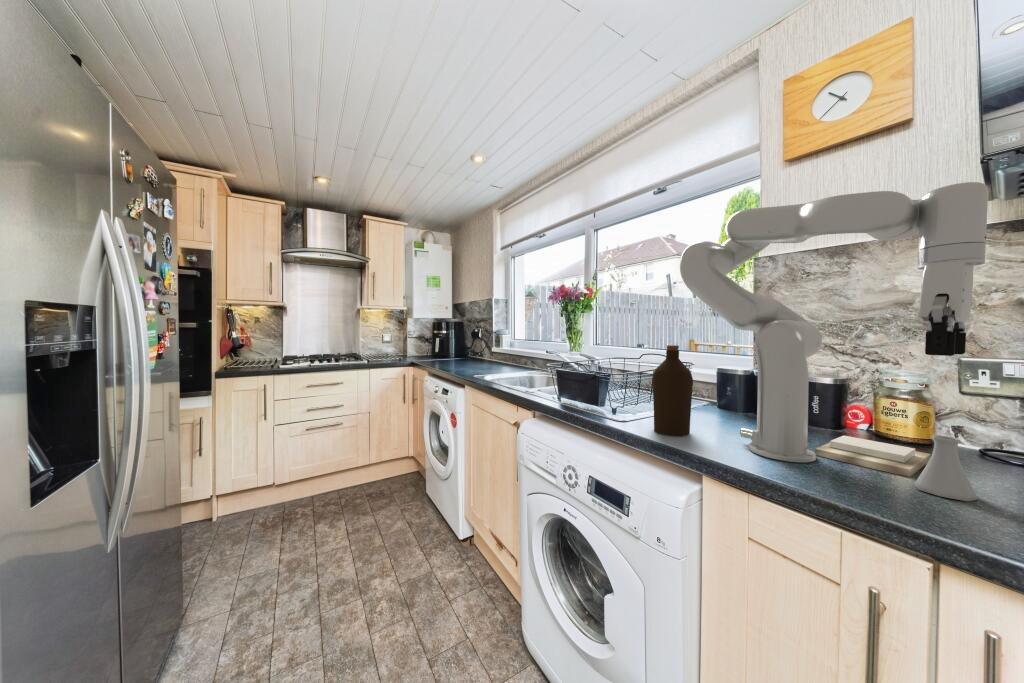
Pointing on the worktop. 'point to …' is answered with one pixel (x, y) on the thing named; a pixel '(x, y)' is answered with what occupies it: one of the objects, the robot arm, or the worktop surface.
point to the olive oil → (672, 395)
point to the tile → (873, 448)
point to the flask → (946, 472)
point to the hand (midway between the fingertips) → (945, 354)
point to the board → (876, 460)
